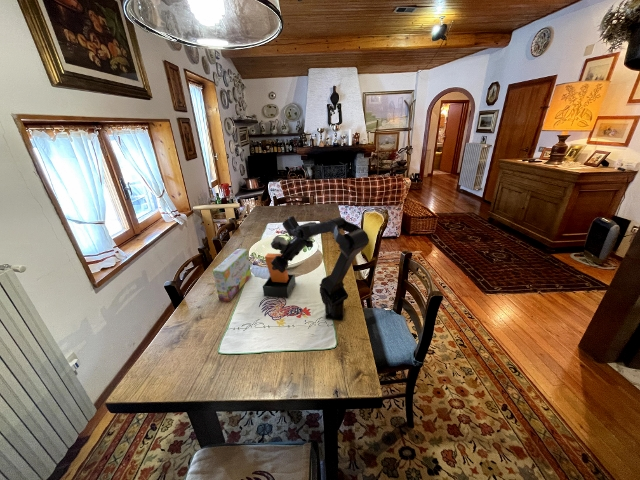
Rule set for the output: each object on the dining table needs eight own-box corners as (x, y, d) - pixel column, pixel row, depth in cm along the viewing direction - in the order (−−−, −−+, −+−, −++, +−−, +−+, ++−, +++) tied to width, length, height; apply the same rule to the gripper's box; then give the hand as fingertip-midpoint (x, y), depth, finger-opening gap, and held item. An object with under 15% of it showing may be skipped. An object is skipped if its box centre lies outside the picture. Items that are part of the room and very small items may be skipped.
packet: (288, 278, 112) (282, 253, 106) (286, 282, 110) (279, 257, 104) (275, 277, 115) (267, 253, 109) (272, 281, 112) (264, 257, 106)
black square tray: (295, 283, 118) (294, 274, 115) (288, 298, 108) (286, 288, 106) (273, 282, 120) (272, 272, 118) (264, 296, 110) (262, 286, 108)
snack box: (230, 302, 107) (223, 271, 101) (218, 300, 108) (211, 270, 102) (252, 275, 126) (247, 248, 120) (242, 274, 127) (236, 247, 121)
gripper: (289, 223, 110) (268, 245, 116) (272, 241, 93) (250, 265, 100) (307, 240, 111) (286, 261, 118) (295, 261, 95) (271, 283, 101)
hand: (274, 267), depth 109 cm, fingers closed on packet, 3 cm apart
